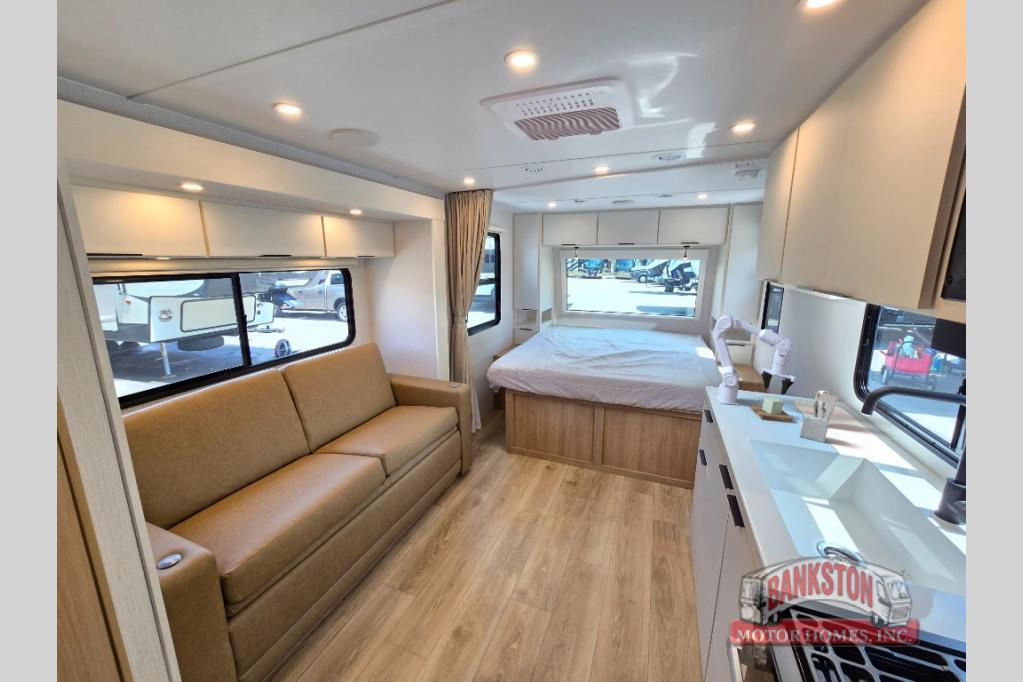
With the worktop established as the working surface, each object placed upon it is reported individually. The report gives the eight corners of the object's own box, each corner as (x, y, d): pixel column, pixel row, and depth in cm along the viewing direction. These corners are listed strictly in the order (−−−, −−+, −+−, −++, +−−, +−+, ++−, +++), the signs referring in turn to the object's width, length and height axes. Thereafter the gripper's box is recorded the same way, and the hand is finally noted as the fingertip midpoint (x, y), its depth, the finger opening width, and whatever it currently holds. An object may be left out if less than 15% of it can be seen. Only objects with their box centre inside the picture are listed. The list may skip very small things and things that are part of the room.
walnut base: (750, 408, 172) (751, 405, 171) (778, 411, 170) (779, 407, 169) (762, 419, 161) (763, 415, 160) (792, 422, 158) (793, 418, 158)
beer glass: (827, 429, 152) (835, 397, 149) (806, 423, 158) (814, 392, 154) (831, 425, 156) (839, 393, 153) (811, 419, 162) (819, 388, 158)
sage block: (762, 409, 167) (764, 397, 165) (771, 409, 167) (774, 397, 166) (770, 414, 162) (773, 401, 160) (780, 413, 162) (783, 401, 161)
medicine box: (822, 438, 144) (827, 419, 142) (824, 443, 141) (829, 423, 139) (798, 433, 149) (802, 414, 147) (799, 437, 145) (803, 417, 143)
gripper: (758, 359, 169) (753, 386, 172) (791, 369, 156) (785, 397, 159) (768, 358, 171) (763, 385, 175) (801, 367, 158) (795, 396, 161)
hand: (774, 391), depth 167 cm, fingers open, 7 cm apart
